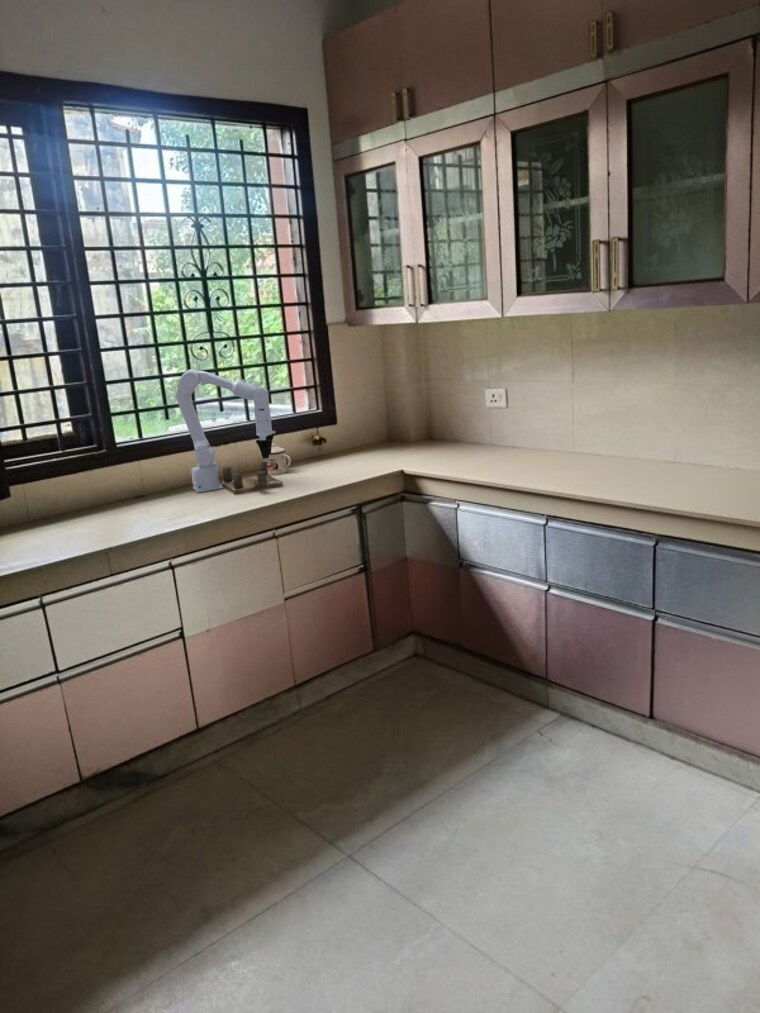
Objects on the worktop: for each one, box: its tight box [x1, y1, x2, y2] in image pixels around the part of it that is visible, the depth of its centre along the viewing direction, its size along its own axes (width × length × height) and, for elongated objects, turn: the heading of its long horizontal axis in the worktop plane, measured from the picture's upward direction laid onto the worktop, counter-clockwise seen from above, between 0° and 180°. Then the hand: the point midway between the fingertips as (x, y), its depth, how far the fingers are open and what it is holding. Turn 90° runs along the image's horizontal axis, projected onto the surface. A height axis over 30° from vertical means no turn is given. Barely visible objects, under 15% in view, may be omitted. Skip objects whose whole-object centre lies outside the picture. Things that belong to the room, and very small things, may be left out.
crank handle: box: [254, 471, 268, 489], centre depth 278 cm, size 10×3×6 cm, turn 26°
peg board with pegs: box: [221, 460, 284, 495], centre depth 288 cm, size 18×18×7 cm
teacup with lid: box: [263, 443, 292, 476], centre depth 308 cm, size 12×9×12 cm
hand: (267, 456), depth 290 cm, fingers open, 7 cm apart
